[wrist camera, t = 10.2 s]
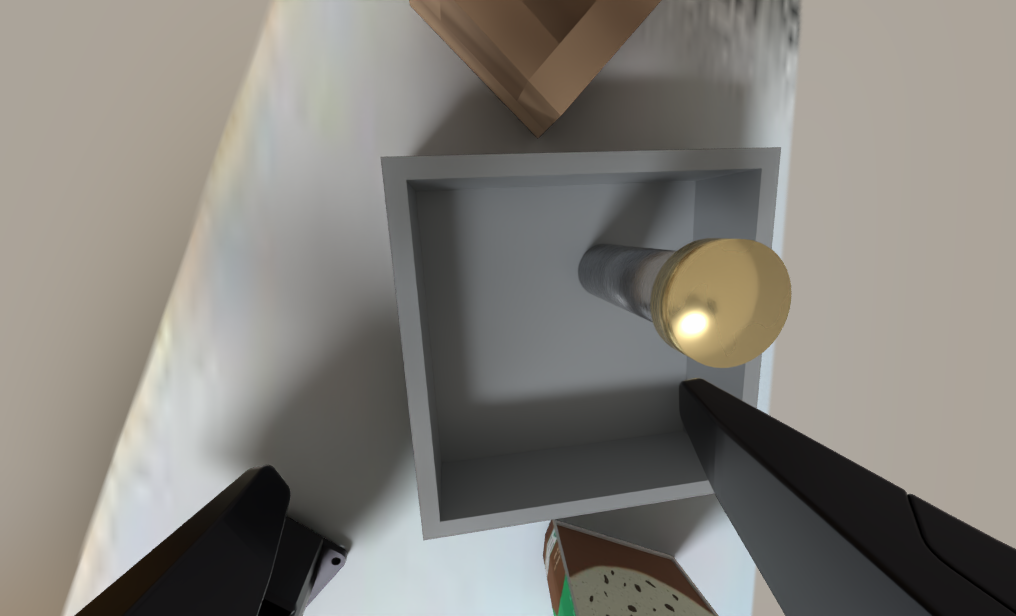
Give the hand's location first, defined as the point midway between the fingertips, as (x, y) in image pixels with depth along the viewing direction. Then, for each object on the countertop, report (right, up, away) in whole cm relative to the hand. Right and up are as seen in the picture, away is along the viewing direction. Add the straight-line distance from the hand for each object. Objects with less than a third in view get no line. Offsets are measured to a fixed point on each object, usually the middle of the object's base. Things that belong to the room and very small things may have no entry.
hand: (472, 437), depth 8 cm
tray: (+4, +2, +13) cm, 14 cm away
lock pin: (+6, +5, +12) cm, 14 cm away
